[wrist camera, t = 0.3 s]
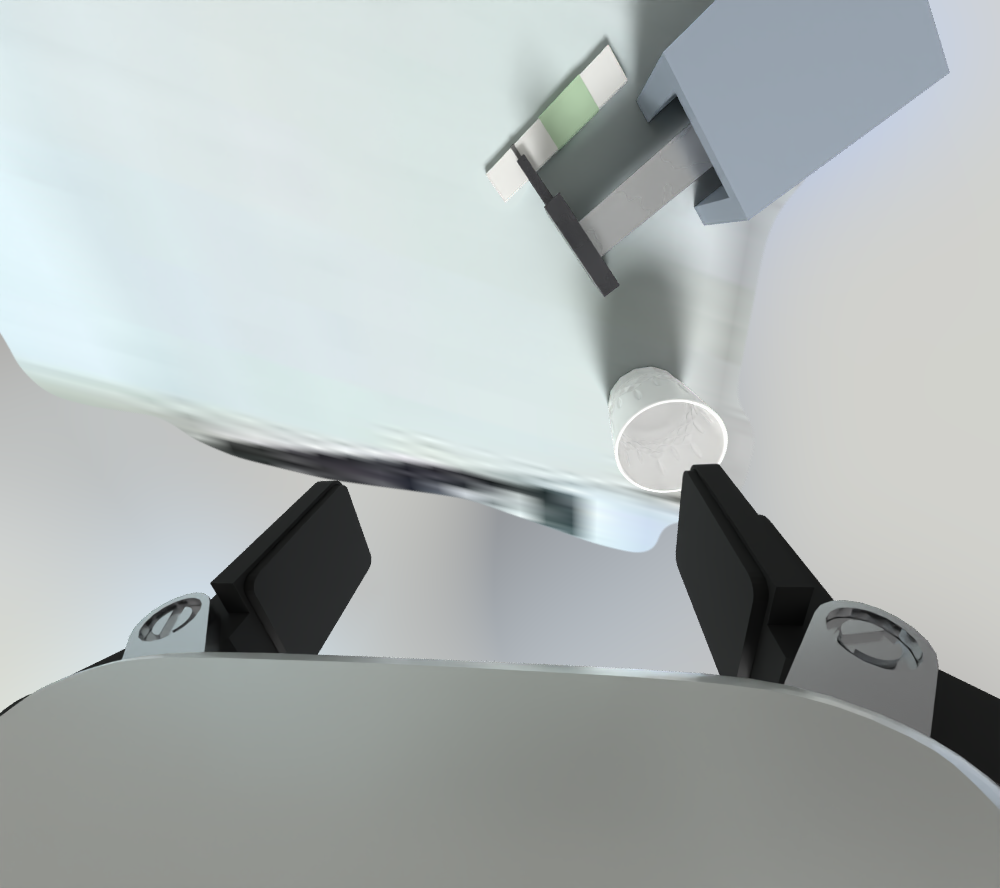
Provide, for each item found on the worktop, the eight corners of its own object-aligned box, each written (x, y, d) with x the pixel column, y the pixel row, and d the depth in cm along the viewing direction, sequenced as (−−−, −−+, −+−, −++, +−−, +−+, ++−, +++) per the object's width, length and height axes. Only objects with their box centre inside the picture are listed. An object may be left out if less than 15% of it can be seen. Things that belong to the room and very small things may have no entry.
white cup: (695, 421, 37) (736, 476, 29) (615, 446, 40) (631, 503, 31) (676, 346, 34) (716, 382, 26) (591, 378, 37) (601, 420, 28)
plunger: (633, 45, 26) (657, -17, 20) (712, 194, 29) (753, 182, 23) (515, 166, 30) (504, 147, 24) (596, 286, 33) (604, 296, 27)
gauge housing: (755, -110, 22) (845, -272, 15) (844, 118, 26) (949, 72, 19) (486, 175, 30) (464, 154, 23) (584, 316, 34) (591, 335, 27)
